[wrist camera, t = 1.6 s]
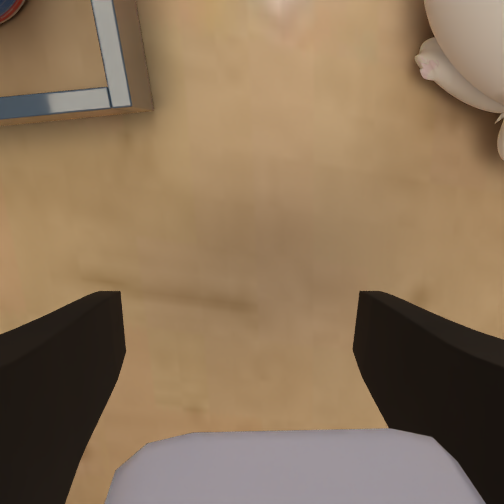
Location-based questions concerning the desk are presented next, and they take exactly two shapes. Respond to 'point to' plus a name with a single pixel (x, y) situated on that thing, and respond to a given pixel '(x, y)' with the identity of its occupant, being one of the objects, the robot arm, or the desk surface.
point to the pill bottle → (9, 8)
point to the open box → (116, 70)
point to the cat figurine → (467, 53)
